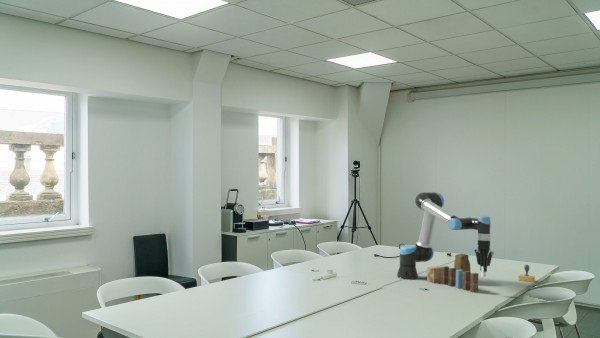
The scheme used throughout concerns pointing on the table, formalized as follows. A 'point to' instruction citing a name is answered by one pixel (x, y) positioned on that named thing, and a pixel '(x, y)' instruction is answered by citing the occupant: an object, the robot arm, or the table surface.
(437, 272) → the end block
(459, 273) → the domino
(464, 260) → the bread loaf
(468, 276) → the domino
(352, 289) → the table surface
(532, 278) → the rubber stamp
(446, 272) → the domino
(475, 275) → the domino
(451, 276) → the domino
